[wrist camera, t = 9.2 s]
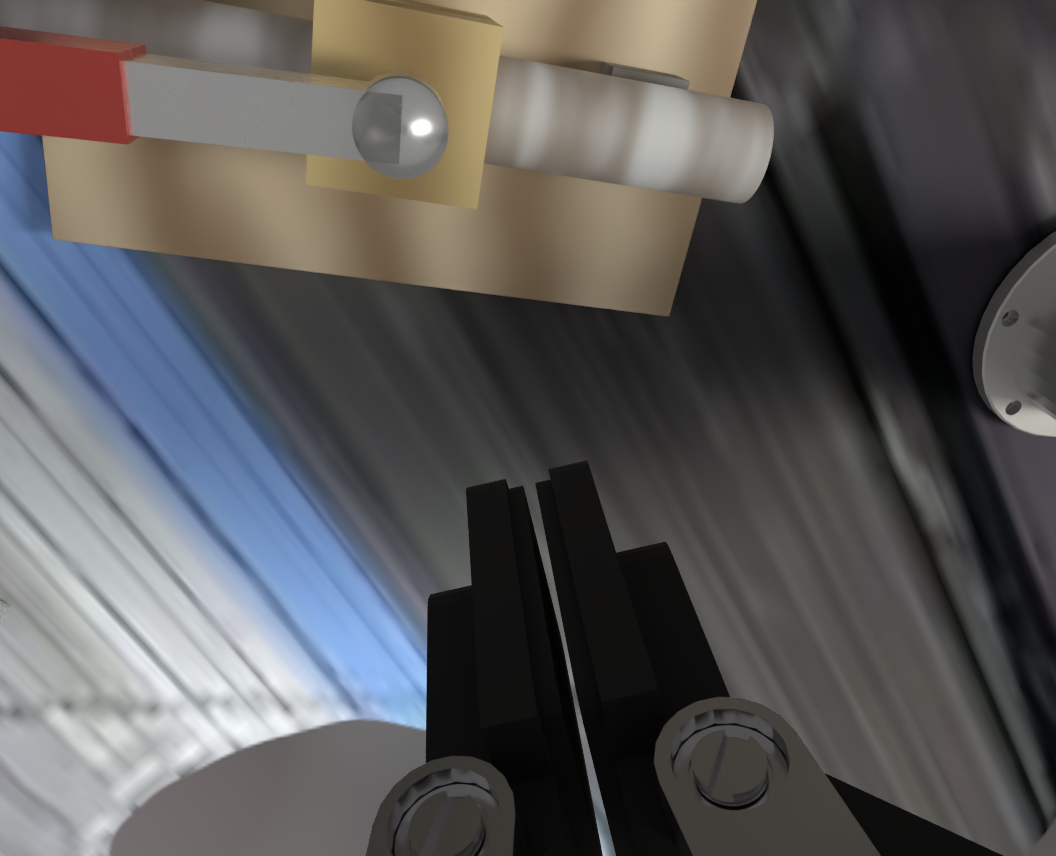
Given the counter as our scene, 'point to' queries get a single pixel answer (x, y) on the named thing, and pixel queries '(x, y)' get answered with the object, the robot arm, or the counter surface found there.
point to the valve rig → (471, 153)
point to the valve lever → (215, 103)
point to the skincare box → (3, 610)
